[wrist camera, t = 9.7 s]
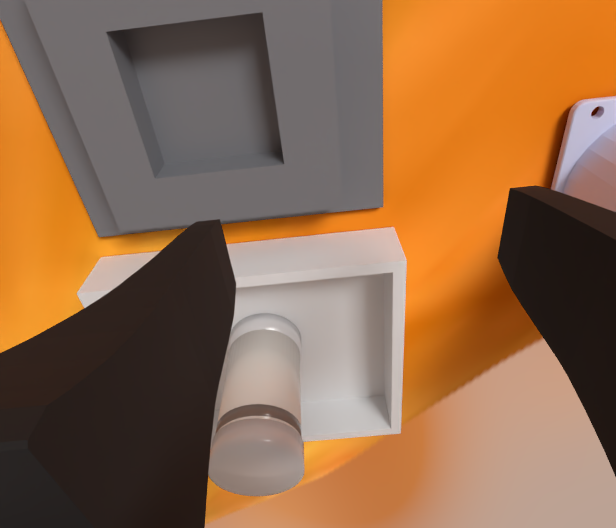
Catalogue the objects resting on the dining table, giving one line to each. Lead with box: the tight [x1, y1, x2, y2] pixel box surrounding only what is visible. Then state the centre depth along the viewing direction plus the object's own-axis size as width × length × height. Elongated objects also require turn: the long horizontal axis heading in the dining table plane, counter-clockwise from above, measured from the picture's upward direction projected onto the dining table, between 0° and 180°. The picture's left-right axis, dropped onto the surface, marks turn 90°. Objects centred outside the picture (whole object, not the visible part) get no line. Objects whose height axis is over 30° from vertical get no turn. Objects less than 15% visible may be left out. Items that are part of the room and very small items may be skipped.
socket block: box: [0, 0, 383, 237], centre depth 17 cm, size 14×12×2 cm
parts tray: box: [77, 227, 407, 450], centre depth 24 cm, size 15×13×3 cm
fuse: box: [208, 313, 304, 496], centre depth 22 cm, size 4×4×8 cm
